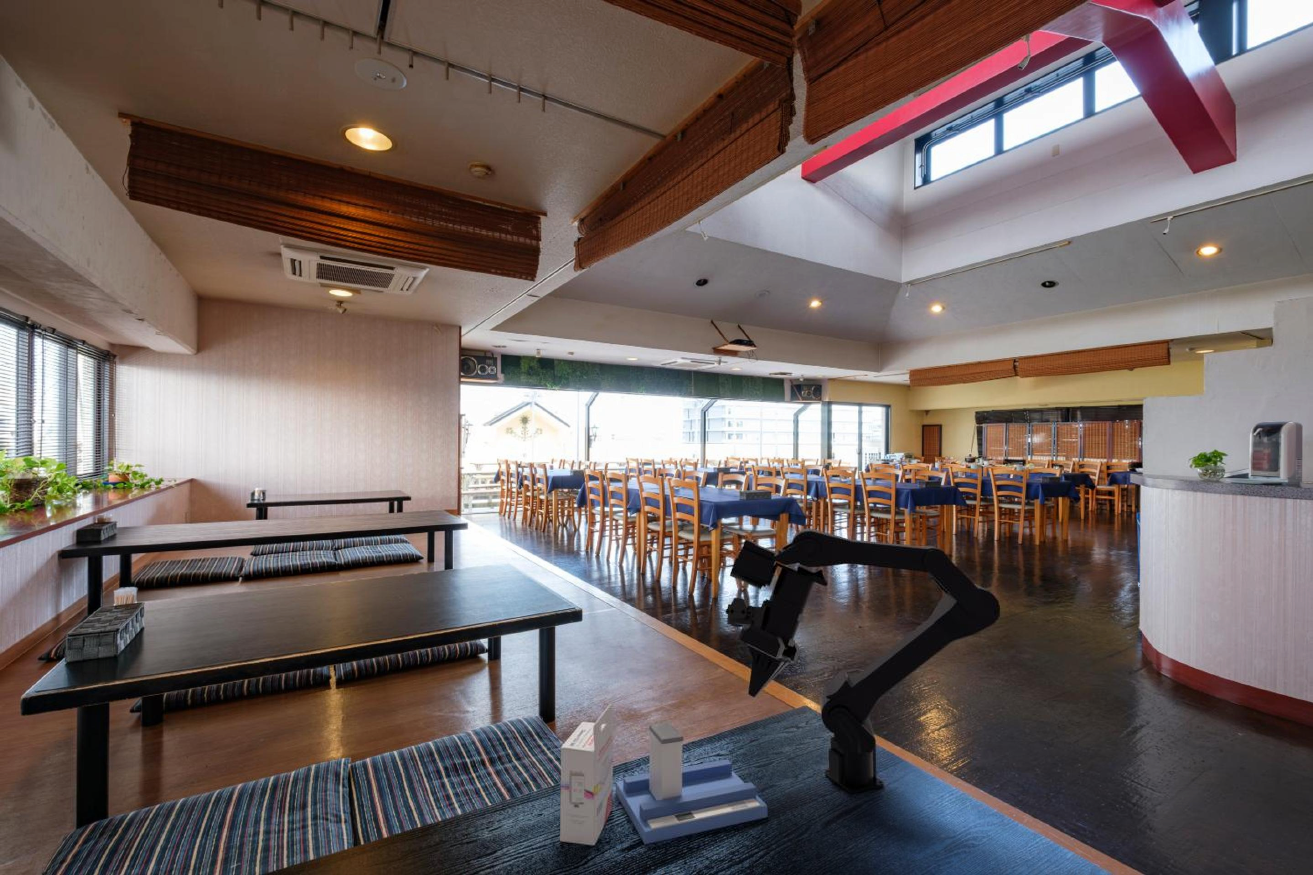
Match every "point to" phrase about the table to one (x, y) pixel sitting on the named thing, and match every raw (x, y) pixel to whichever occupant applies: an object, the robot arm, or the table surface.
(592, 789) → the ink cartridge box
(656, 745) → the switch tab
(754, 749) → the table surface
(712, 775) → the blue railed tray
